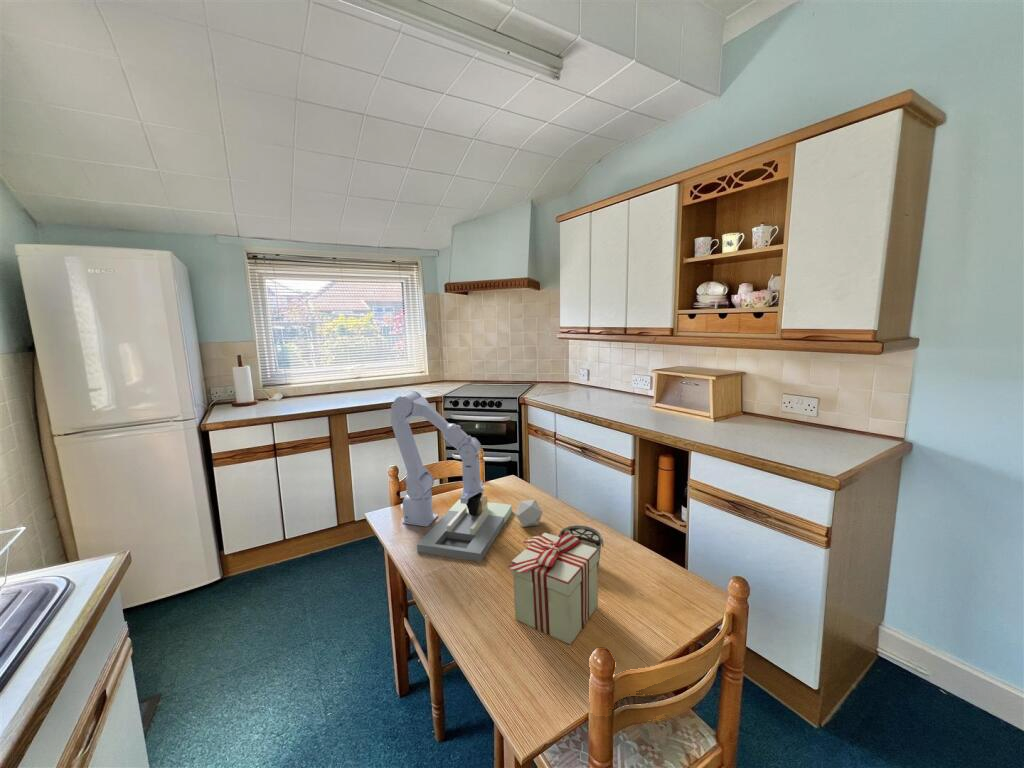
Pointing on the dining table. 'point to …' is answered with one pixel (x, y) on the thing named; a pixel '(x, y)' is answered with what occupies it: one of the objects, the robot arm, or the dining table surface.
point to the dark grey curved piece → (585, 536)
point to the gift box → (555, 585)
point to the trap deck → (465, 532)
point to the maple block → (482, 504)
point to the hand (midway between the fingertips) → (473, 514)
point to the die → (529, 513)
